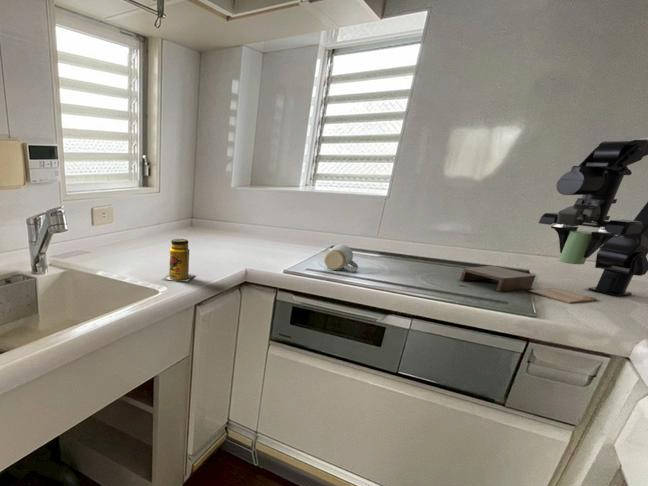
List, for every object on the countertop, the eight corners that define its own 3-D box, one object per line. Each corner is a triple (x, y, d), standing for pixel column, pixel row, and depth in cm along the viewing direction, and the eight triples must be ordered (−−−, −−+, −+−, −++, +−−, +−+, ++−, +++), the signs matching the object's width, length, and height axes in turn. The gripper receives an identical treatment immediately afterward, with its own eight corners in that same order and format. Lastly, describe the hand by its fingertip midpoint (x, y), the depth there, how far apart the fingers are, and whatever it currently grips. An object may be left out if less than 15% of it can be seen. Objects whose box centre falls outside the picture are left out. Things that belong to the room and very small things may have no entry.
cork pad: (553, 289, 117) (554, 287, 117) (596, 300, 108) (597, 298, 108) (527, 291, 115) (528, 290, 114) (569, 303, 106) (570, 301, 105)
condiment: (164, 279, 125) (165, 241, 120) (173, 273, 132) (174, 236, 128) (187, 282, 123) (188, 242, 118) (194, 275, 130) (196, 238, 125)
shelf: (489, 277, 128) (493, 265, 126) (530, 288, 117) (535, 275, 116) (459, 280, 125) (463, 267, 124) (499, 291, 114) (504, 278, 113)
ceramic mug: (320, 268, 138) (325, 246, 134) (327, 264, 143) (332, 242, 140) (354, 274, 132) (359, 251, 128) (360, 269, 137) (365, 247, 134)
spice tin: (567, 259, 111) (578, 230, 108) (589, 263, 106) (602, 233, 103) (553, 260, 110) (565, 231, 107) (575, 264, 105) (588, 234, 102)
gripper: (534, 192, 108) (513, 250, 114) (624, 198, 91) (595, 265, 97) (564, 191, 110) (543, 248, 117) (658, 197, 94) (627, 263, 100)
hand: (573, 255), depth 108 cm, fingers closed on spice tin, 5 cm apart
